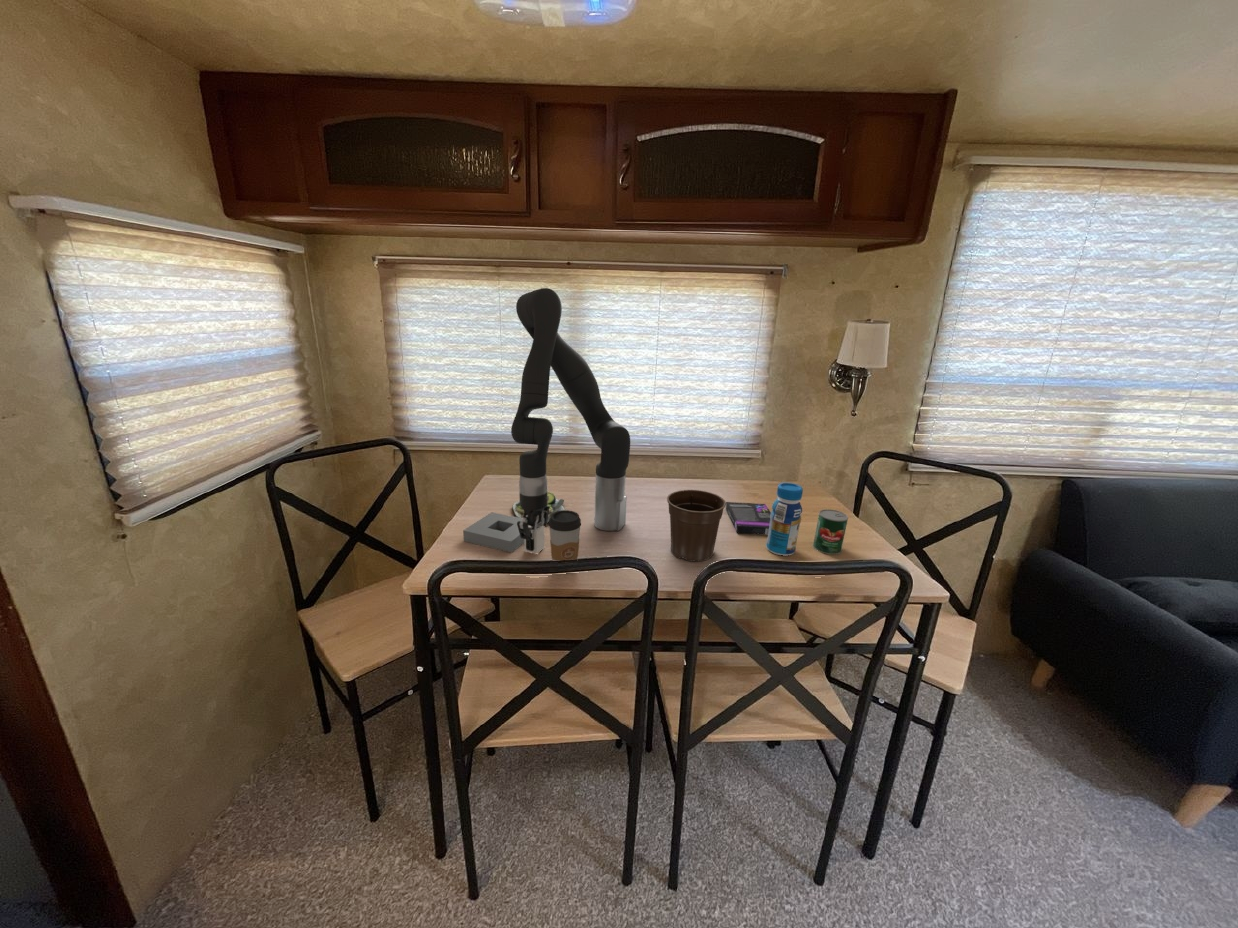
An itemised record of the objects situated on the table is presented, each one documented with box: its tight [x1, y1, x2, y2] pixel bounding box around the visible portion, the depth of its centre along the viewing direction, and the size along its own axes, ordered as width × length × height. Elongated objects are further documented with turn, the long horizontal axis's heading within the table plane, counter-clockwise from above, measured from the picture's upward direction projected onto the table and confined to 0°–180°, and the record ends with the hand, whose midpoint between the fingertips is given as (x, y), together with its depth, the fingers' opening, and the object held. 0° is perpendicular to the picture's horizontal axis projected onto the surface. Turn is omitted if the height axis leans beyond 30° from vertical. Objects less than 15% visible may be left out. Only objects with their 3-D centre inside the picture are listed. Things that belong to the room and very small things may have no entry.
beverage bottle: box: [765, 482, 804, 557], centre depth 139 cm, size 8×8×20 cm
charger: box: [523, 525, 545, 554], centre depth 135 cm, size 4×4×7 cm
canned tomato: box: [812, 508, 849, 555], centre depth 142 cm, size 8×8×11 cm
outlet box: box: [462, 511, 525, 553], centre depth 143 cm, size 16×14×4 cm
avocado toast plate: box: [512, 491, 565, 523], centre depth 159 cm, size 19×18×5 cm
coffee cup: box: [548, 509, 582, 561], centre depth 126 cm, size 8×8×15 cm
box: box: [725, 501, 772, 536], centre depth 160 cm, size 14×4×20 cm
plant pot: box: [666, 489, 727, 562], centre depth 136 cm, size 16×16×16 cm
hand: (534, 546), depth 136 cm, fingers closed on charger, 4 cm apart
